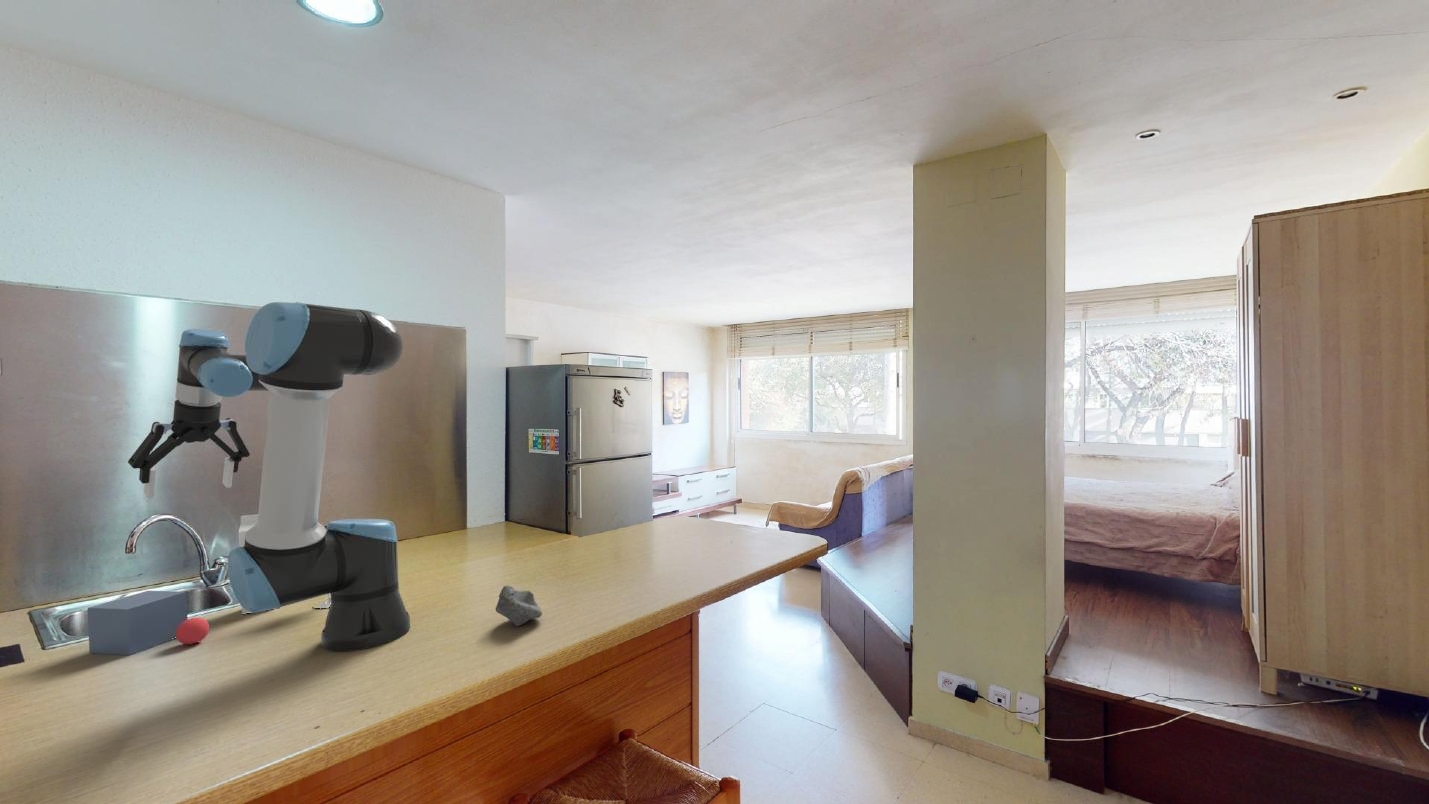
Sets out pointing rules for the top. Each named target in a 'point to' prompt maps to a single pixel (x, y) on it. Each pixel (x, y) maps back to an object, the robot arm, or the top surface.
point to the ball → (192, 630)
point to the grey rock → (517, 605)
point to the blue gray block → (136, 622)
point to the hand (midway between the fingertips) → (189, 490)
